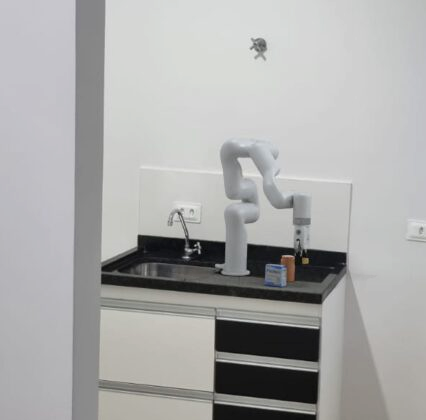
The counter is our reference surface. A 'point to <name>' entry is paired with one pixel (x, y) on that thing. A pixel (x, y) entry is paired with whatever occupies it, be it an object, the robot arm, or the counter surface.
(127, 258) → the counter surface
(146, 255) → the counter surface
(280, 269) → the medicine box
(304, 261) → the jar lid
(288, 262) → the jam jar
